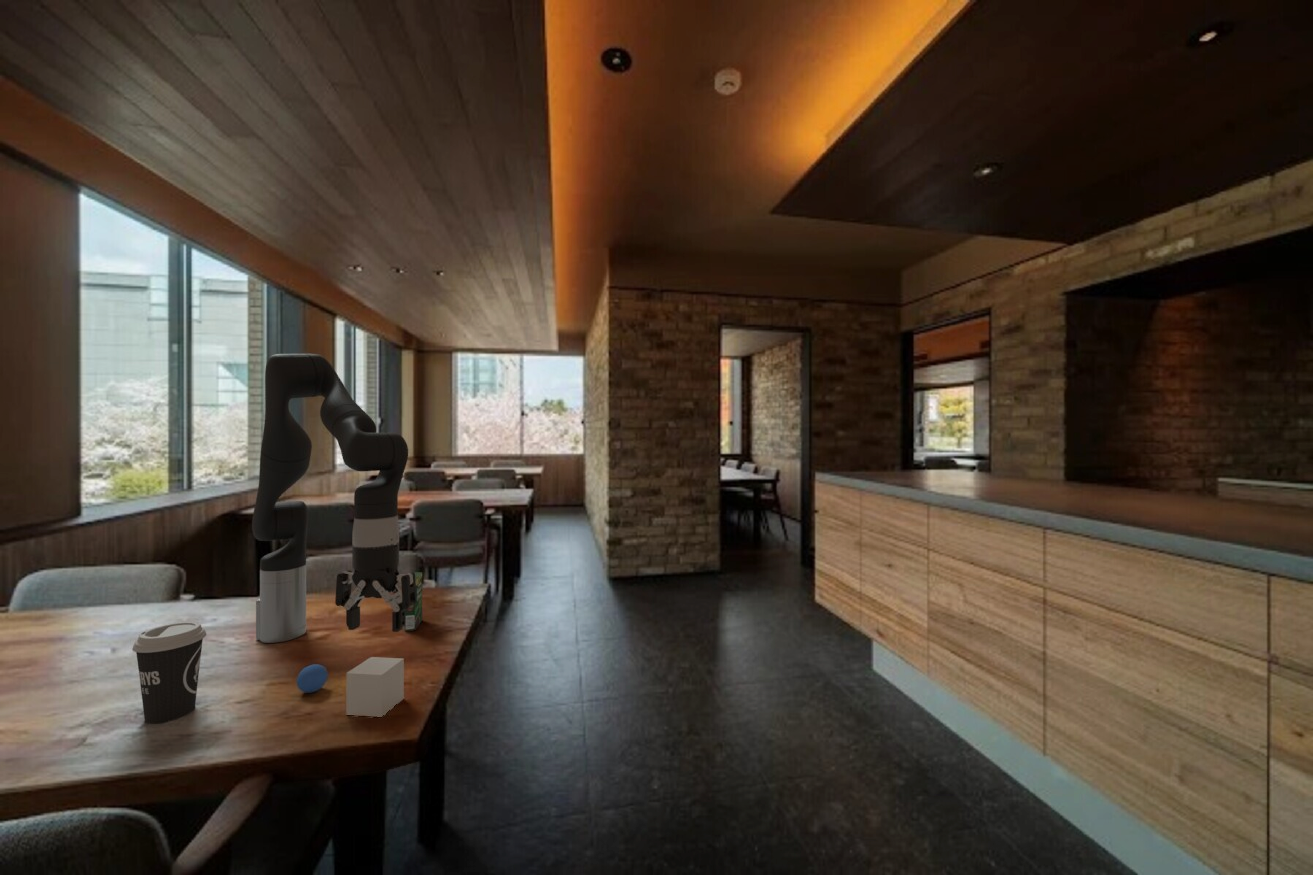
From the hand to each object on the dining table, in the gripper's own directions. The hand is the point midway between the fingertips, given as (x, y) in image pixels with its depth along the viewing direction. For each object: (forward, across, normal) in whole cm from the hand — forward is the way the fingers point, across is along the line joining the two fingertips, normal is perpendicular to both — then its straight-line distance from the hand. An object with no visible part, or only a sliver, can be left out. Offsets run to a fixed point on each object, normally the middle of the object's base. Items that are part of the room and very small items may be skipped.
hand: (376, 629), depth 93 cm
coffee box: (+14, -16, +38) cm, 44 cm away
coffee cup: (+14, -35, -6) cm, 38 cm away
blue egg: (+12, -16, +4) cm, 20 cm away
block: (+14, 0, 0) cm, 14 cm away
